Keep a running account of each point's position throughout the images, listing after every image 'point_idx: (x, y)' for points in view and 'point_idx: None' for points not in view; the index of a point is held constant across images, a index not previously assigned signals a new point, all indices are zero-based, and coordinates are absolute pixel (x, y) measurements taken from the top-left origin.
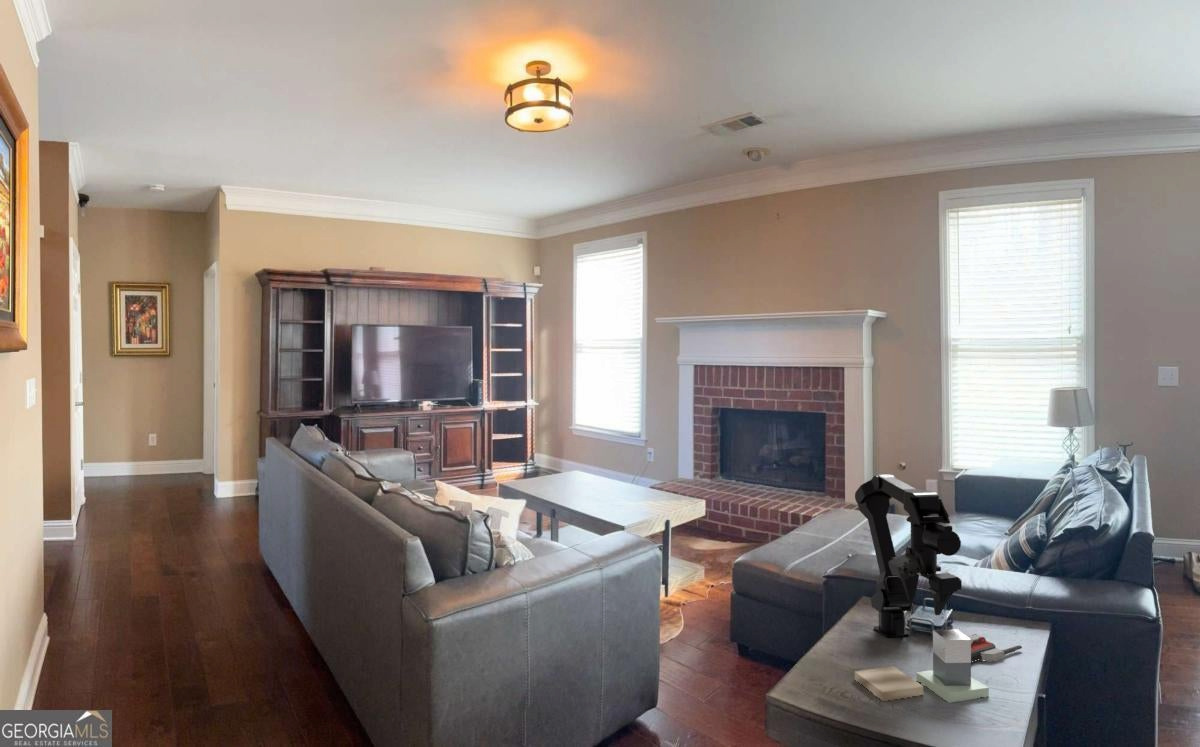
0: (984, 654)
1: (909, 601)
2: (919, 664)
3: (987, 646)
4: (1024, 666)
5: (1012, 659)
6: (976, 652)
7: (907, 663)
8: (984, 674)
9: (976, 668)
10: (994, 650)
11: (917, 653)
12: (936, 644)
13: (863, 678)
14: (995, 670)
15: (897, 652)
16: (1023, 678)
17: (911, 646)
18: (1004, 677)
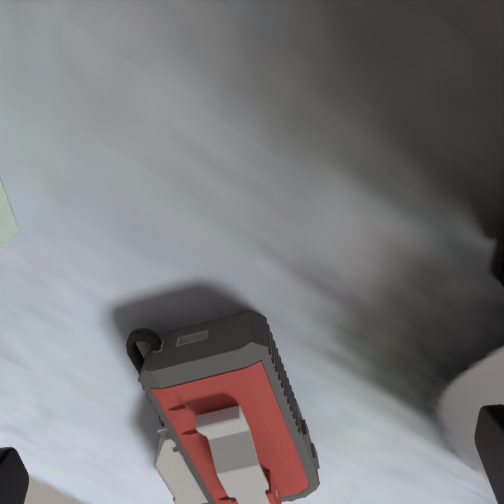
0: (163, 442)
1: (488, 405)
2: (161, 130)
3: (205, 485)
4: (116, 499)
5: None
6: (165, 425)
7: (180, 63)
8: (43, 355)
9: (103, 358)
10: (188, 487)
11: (296, 202)
12: None
13: None
14: (83, 409)
15: (336, 94)
16: None
17: (383, 221)
18: (19, 404)
